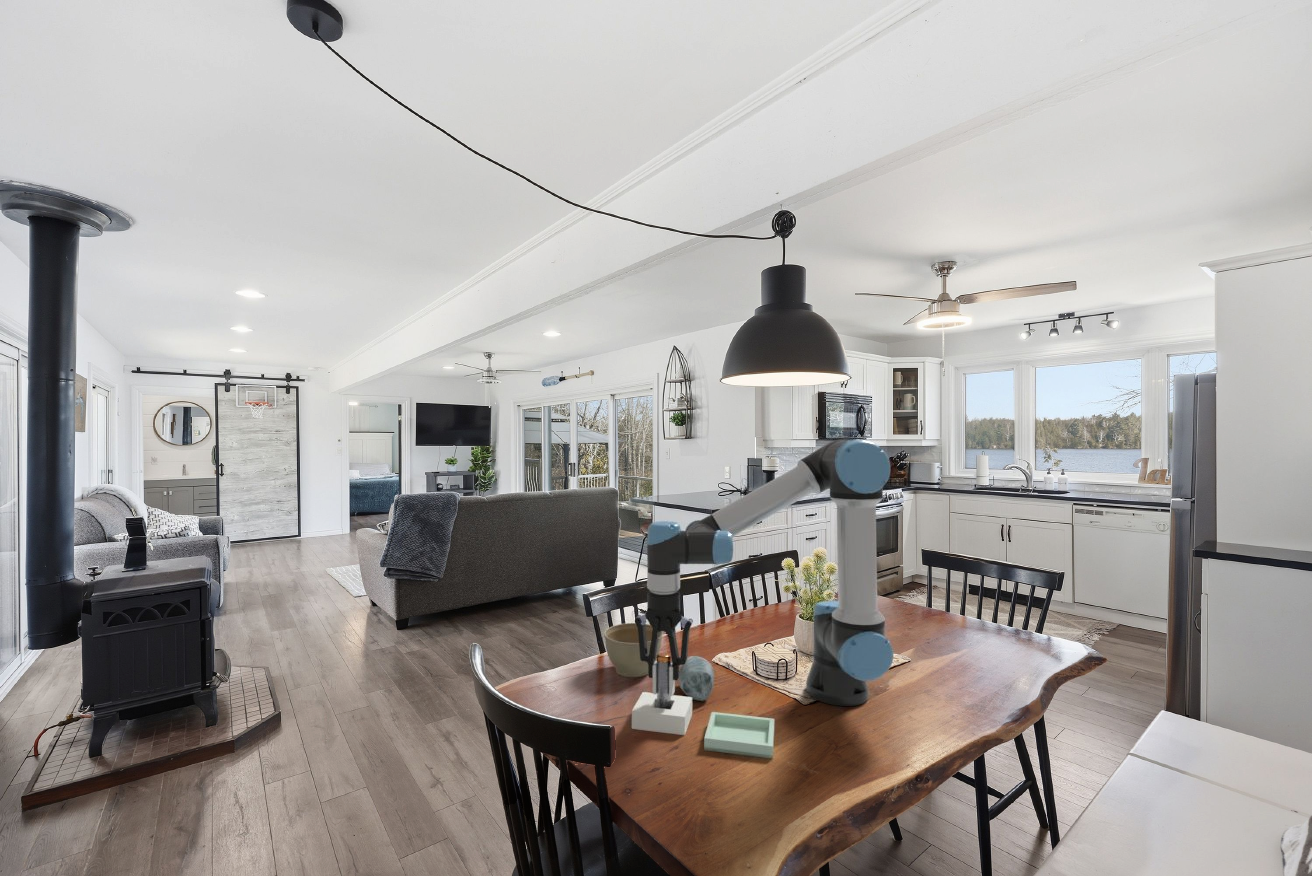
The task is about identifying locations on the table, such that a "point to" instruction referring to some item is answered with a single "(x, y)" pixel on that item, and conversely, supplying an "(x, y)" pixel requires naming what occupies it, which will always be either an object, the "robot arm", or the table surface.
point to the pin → (663, 681)
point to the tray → (740, 735)
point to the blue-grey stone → (696, 678)
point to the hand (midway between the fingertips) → (663, 692)
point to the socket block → (662, 714)
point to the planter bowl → (628, 649)
